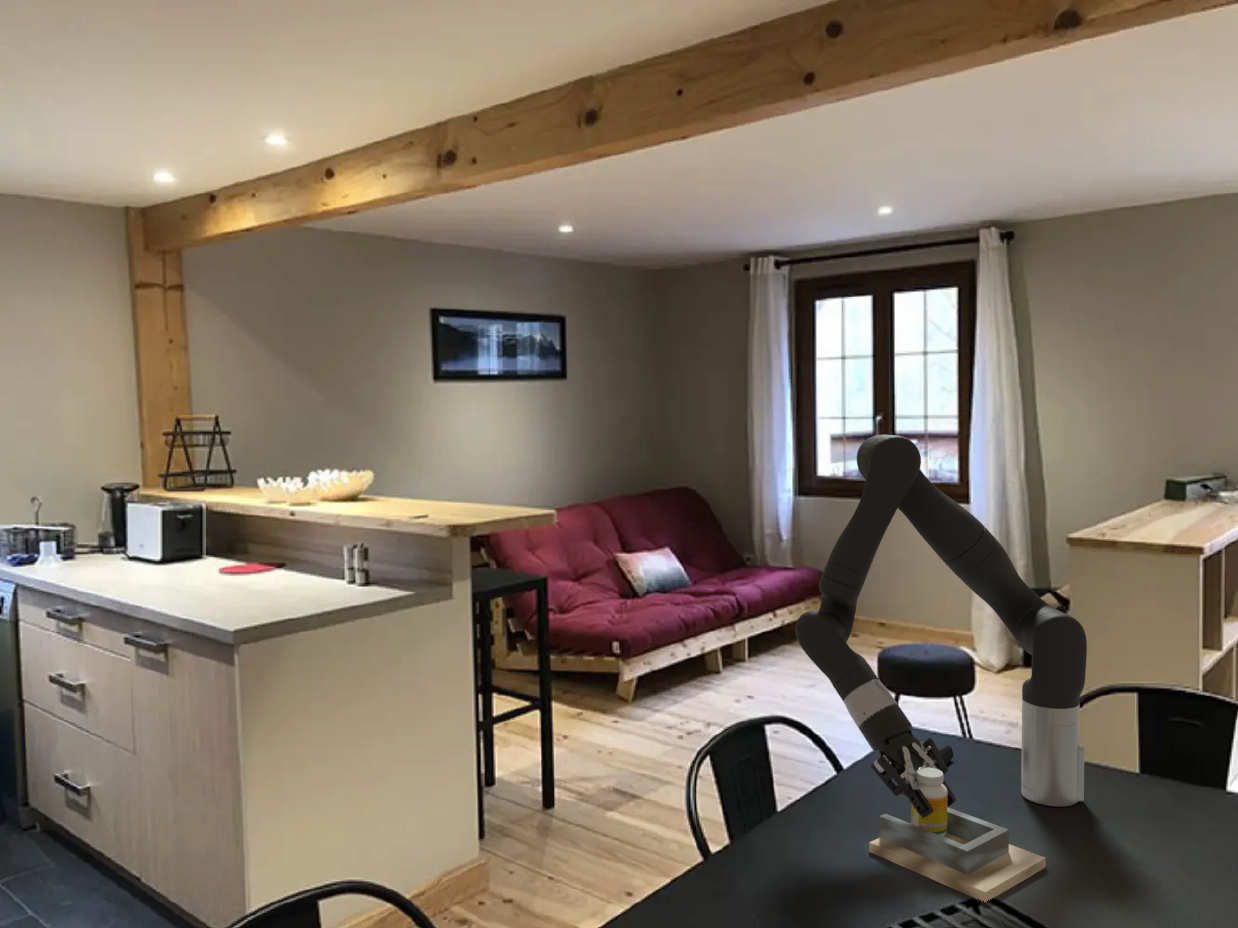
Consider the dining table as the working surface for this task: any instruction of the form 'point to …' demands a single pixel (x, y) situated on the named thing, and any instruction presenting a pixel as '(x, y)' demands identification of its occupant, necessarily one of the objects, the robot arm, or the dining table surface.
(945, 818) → the supplement bottle
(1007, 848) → the tray
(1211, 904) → the dining table surface
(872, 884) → the dining table surface
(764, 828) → the dining table surface
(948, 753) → the electric trimmer
